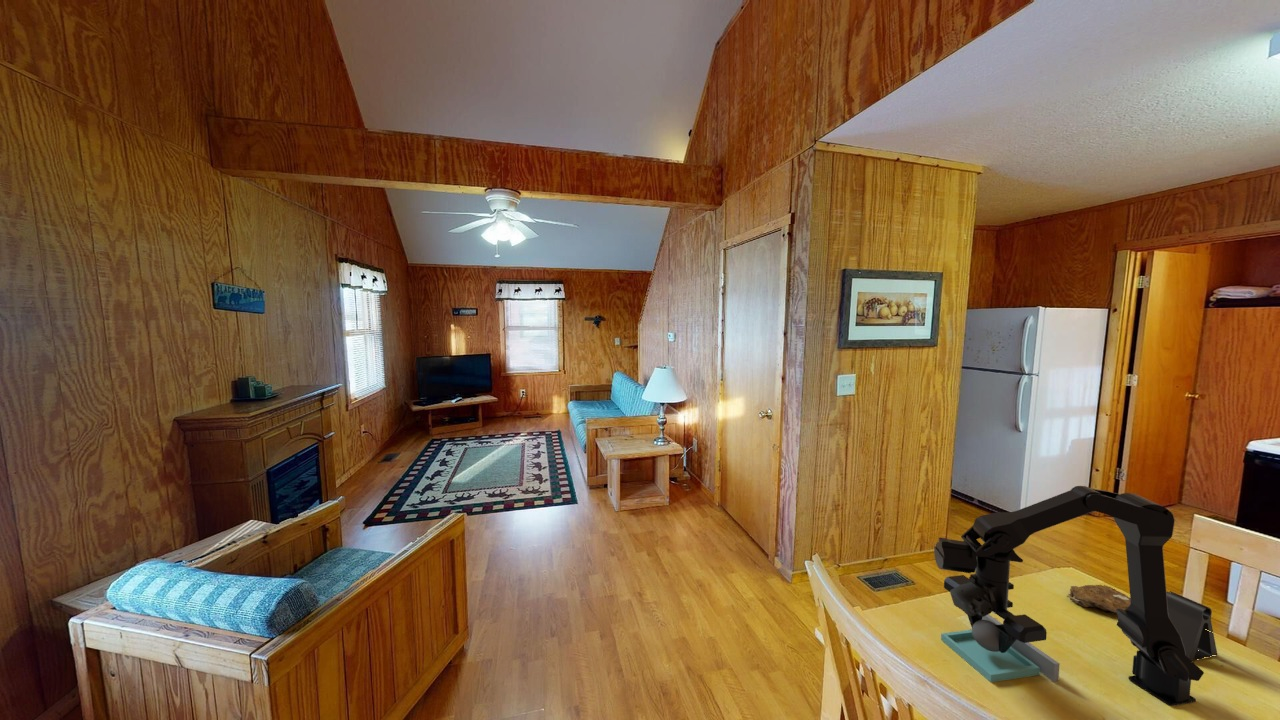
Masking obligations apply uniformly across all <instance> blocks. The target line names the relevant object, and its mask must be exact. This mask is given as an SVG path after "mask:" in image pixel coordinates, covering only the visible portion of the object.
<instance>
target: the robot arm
mask: <svg viewBox="0 0 1280 720" xmlns="http://www.w3.org/2000/svg"><path fill="white" fill-rule="evenodd" d="M1093 512H1095V513H1096V512H1097V513H1101V514H1103V515H1107V516H1110V517H1113V520H1114V522H1115V524H1116V525H1117V527H1118V529H1119V530H1120V532H1121V534H1122V535H1123V537H1124V539H1125V552H1126V553H1125V554H1126V562H1127V563H1126V564H1127V573H1128V574H1127V576H1128V585H1129V586H1128V587H1129V598H1130V600H1131V604H1130V605H1129V606H1128V607H1127V608H1126V609H1125V610H1123V609H1117V610H1116V615H1117V622H1116V626H1117V628H1119V629H1120V630H1121V632H1122V633H1123V635H1125V637H1126V638H1128V639H1129V642H1130V643H1131V644H1132V645H1133V647H1136V649H1137V650H1136V655H1133V657H1132V668H1131V669H1132V671H1131V673H1132V675H1129V676H1127V677H1128V680H1129V681H1130V682H1132V683H1133V684H1135V685H1137V686H1138V687H1140V689H1143V690H1145V691H1146V692H1148V693H1149V694H1151V695H1153V696H1154V697H1155V698H1157V699H1159V700H1160V701H1162V702H1163V703H1164V704H1167V705H1168V706H1171V707H1174V706H1180V705H1185V704H1192V703H1196V702H1197V699H1196V698H1195V697H1194V696H1192V695H1191V686H1192V685H1191V684H1192V681H1194V682H1195V681H1196V682H1198V681H1200V680H1201V678H1202V677H1203V675H1204V674H1205V673H1204V670H1202V669H1201V667H1199V666H1198V665H1197V664H1195V663H1194V661H1191V660H1190V659H1189V658H1188V657H1187V656H1186V651H1185V648H1184V645H1183V642H1182V639H1181V636H1180V634H1179V633H1178V631H1177V629H1176V628H1175V626H1174V624H1173V623H1172V621H1171V619H1170V618H1169V615H1168V604H1167V592H1168V591H1167V584H1166V571H1165V560H1164V559H1165V556H1164V545H1166V543H1167V542H1168V541H1169V540H1170V539H1171V538H1172V537H1173V535H1174V528H1175V522H1176V519H1175V516H1174V514H1173V512H1172V511H1170V510H1169V509H1168V508H1166V507H1165V506H1163V505H1161V504H1159V503H1157V502H1154V501H1152V500H1149V499H1148V498H1145V497H1143V496H1141V495H1139V494H1136V493H1132V492H1125V493H1124V492H1123V493H1117V492H1112V491H1109V490H1104V489H1097V488H1096V489H1095V488H1091V487H1089V486H1085V485H1076V486H1074V487H1071V489H1070V490H1067V491H1065V492H1063V493H1060V494H1057V495H1055V496H1051V497H1050V498H1046V499H1044V500H1041V501H1038V502H1036V503H1033V504H1030V505H1029V506H1026V507H1023V508H1020V509H1018V510H1015V511H1008V512H1007V511H1005V512H1003V511H1002V512H1000V511H998V512H992V513H988V514H983V515H982V514H981V515H979V516H978V517H976V518H975V519H974V522H973V524H972V525H971V527H970V528H969V529H967V530H966V531H965V532H964V533H963V534H961V536H960V538H961V539H962V540H957V539H956V540H955V539H951V538H950V539H949V538H946V537H938V542H936V544H935V546H934V548H933V554H934V560H935V564H936V566H937V568H938V569H939V570H944V571H950V572H951V571H952V572H958V573H959V572H960V573H966V574H970V575H969V576H968V577H967V576H966V575H964V574H960V575H952V576H951V575H950V576H946V577H945V578H944V580H943V589H945V590H947V591H948V592H949V593H950V596H951V600H952V602H953V603H952V604H953V605H954V606H955V607H956V608H958V609H960V611H963V612H964V614H965V615H967V618H968V620H969V623H970V627H971V628H972V626H973V624H974V623H975V622H976V621H979V620H982V617H984V616H986V615H988V614H989V615H991V613H992V614H994V615H996V616H998V617H1000V618H1002V619H1003V621H1002V624H1001V625H995V627H996V628H997V629H998V630H999V650H1000V652H1001V653H1005V652H1006V651H1007V650H1008V649H1009V648H1010V647H1011V645H1012V644H1013V643H1014V642H1015V641H1016V640H1018V641H1020V642H1023V643H1028V642H1029V643H1034V642H1041V641H1047V634H1048V633H1047V629H1046V628H1045V626H1044V625H1042V624H1041V623H1040V622H1038V621H1036V620H1035V619H1033V618H1032V617H1030V616H1028V615H1027V614H1025V613H1024V614H1016V615H1015V614H1014V613H1013V612H1011V611H1009V610H1008V608H1013V607H1014V604H1013V603H1014V602H1012V601H1011V600H1010V599H1009V591H1010V590H1014V589H1015V585H1014V583H1011V582H1010V572H1011V571H1010V568H1011V567H1010V566H1011V562H1016V563H1023V562H1024V559H1023V558H1022V557H1020V556H1019V555H1018V554H1017V553H1016V551H1015V550H1014V549H1016V548H1018V547H1020V546H1021V545H1024V544H1025V542H1026V541H1027V540H1028V538H1029V537H1030V536H1032V535H1034V534H1035V533H1038V532H1040V531H1043V530H1046V529H1049V528H1052V527H1054V526H1057V525H1060V524H1062V523H1065V522H1069V521H1071V520H1073V519H1076V518H1079V517H1082V516H1085V515H1087V514H1091V513H1093ZM979 539H980V540H981V541H982V542H983V543H982V544H981V542H980V541H979Z"/></svg>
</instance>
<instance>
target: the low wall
mask: <svg viewBox="0 0 1280 720" xmlns="http://www.w3.org/2000/svg"><path fill="white" fill-rule="evenodd" d="M982 620H988V621H991V622H993V623H995V624H996V625H1001V624H1003V622H1000V621H999V620H998V619H996V618H995V617H993V616H992V615H991V614H988V615H986V616H984V617H982ZM1011 647H1012V648H1013V649H1015V650H1016V651H1018V652H1019V653H1020V654H1022V655H1023V656H1024V657H1026V658H1027V659H1028V660H1030V661H1031V662H1033V663H1034V664H1035V665H1037V666H1038V667H1039V668H1040V673H1041V675H1044V677H1046V678H1047V679H1048V680H1049V681H1051V682H1053V683H1058V682H1059V681H1060V680H1059V678H1060V665H1061V663H1060V662H1058V661H1057V660H1055V659H1054V658H1052V657H1051V656H1050V655H1049V654H1047V653H1046V652H1044V651H1043V650H1041V649H1040V648H1039V647H1037V646H1036V645H1034V644H1032V642H1028V643H1023V642H1020V641H1018V640H1016V641H1015V642H1014V643H1013V644H1012V645H1011ZM1040 673H1039V674H1040Z"/></svg>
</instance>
